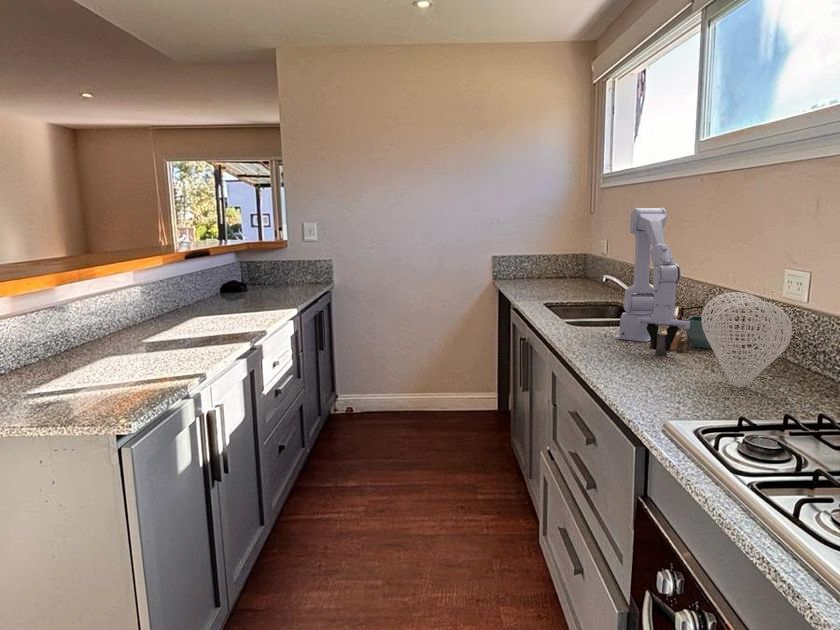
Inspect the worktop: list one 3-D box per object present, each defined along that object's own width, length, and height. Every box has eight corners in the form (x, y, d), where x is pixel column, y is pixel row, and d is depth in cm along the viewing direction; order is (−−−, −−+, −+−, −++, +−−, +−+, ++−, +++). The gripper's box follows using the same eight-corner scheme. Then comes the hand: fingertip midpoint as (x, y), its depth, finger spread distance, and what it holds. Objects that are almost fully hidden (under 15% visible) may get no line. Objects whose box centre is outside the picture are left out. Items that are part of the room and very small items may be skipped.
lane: (649, 348, 180) (650, 337, 179) (656, 343, 186) (657, 333, 185) (683, 352, 174) (684, 341, 173) (689, 347, 180) (690, 336, 179)
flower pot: (714, 351, 176) (716, 322, 174) (683, 347, 181) (685, 319, 179) (719, 346, 182) (722, 318, 181) (690, 342, 188) (692, 315, 186)
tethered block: (651, 354, 172) (652, 334, 171) (663, 345, 183) (664, 327, 182) (668, 356, 169) (669, 336, 168) (679, 347, 180) (680, 329, 179)
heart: (692, 370, 153) (698, 288, 149) (756, 374, 149) (764, 290, 145) (715, 402, 126) (723, 303, 122) (795, 407, 122) (805, 305, 118)
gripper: (635, 304, 170) (632, 348, 173) (687, 308, 162) (684, 355, 164) (642, 301, 176) (639, 344, 178) (692, 305, 167) (689, 350, 170)
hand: (661, 349), depth 171 cm, fingers closed on tethered block, 3 cm apart
